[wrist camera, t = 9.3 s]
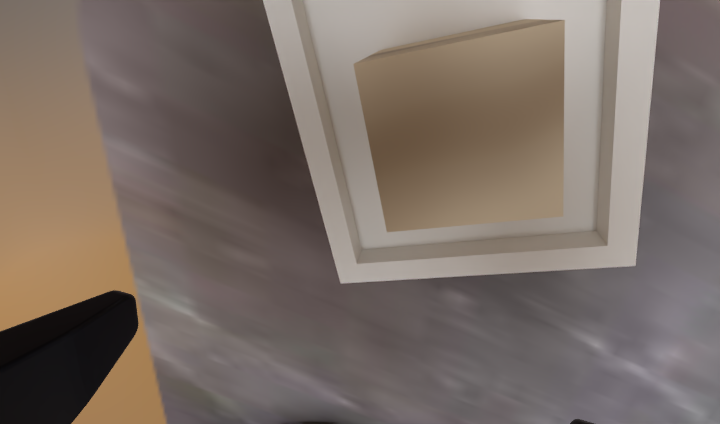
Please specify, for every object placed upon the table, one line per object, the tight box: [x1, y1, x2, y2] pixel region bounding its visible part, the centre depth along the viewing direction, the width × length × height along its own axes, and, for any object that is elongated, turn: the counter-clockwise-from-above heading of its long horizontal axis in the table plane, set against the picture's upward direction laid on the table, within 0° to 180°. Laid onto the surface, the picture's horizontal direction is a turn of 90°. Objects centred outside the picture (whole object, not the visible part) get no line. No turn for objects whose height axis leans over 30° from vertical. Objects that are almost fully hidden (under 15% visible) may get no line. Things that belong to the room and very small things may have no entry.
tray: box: [263, 0, 660, 283], centre depth 15 cm, size 14×12×2 cm
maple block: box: [353, 19, 565, 232], centre depth 13 cm, size 5×5×5 cm
